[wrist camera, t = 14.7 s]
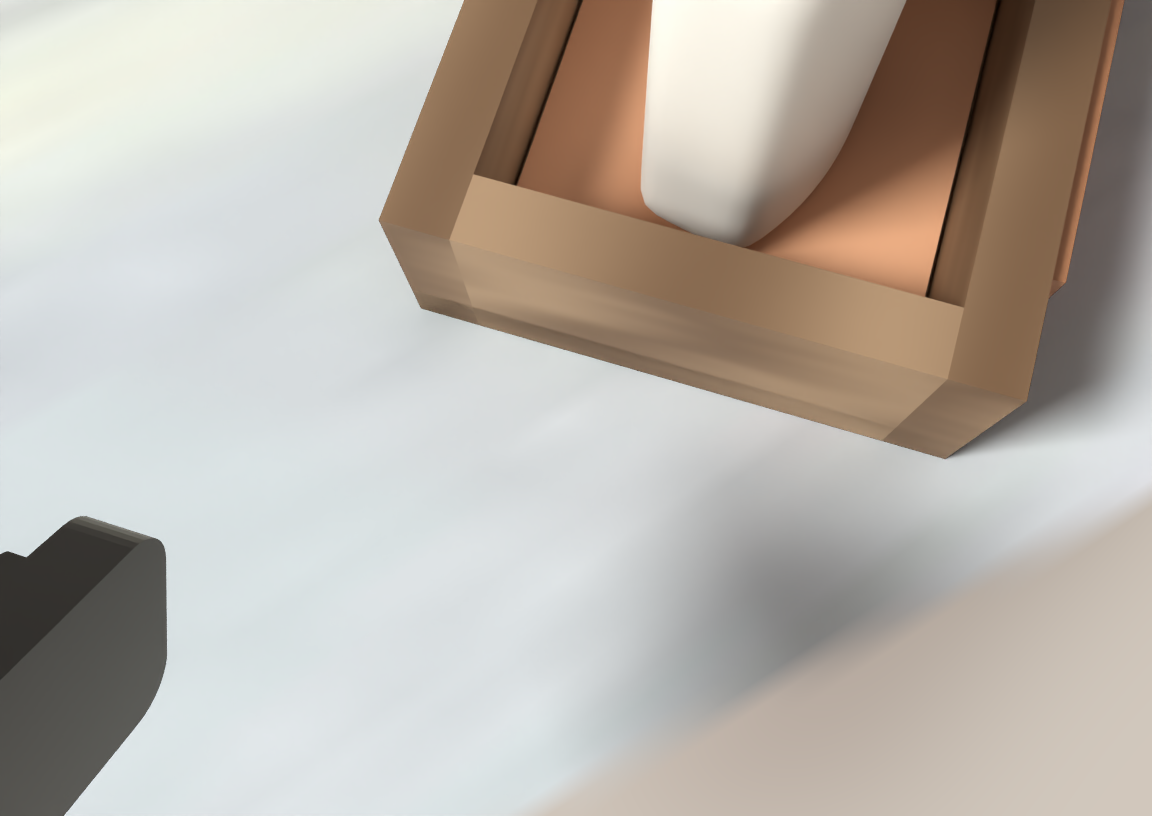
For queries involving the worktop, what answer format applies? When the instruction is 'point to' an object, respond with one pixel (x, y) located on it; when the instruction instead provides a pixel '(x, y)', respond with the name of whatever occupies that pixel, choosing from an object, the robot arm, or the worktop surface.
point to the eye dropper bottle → (752, 105)
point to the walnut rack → (796, 246)
